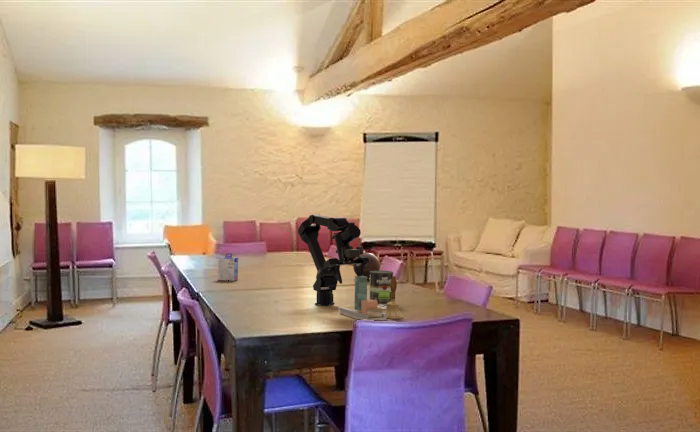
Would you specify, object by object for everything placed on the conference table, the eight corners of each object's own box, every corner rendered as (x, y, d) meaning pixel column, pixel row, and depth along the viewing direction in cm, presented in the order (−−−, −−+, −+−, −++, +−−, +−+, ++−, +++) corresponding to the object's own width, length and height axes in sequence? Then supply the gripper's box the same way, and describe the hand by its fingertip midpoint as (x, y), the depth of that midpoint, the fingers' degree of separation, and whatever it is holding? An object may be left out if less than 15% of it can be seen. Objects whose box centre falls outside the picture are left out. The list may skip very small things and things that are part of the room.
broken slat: (365, 309, 275) (365, 306, 275) (378, 308, 278) (378, 305, 278) (375, 312, 268) (375, 309, 268) (388, 311, 272) (388, 308, 272)
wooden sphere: (382, 281, 373) (382, 254, 372) (355, 281, 371) (355, 253, 370) (377, 277, 388) (377, 251, 387) (351, 277, 386) (351, 251, 385)
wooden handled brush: (401, 315, 269) (402, 275, 269) (404, 319, 261) (404, 277, 260) (381, 315, 269) (381, 274, 269) (382, 318, 261) (383, 277, 260)
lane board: (339, 313, 271) (339, 307, 271) (379, 309, 281) (379, 303, 281) (366, 322, 254) (366, 315, 254) (407, 317, 263) (407, 311, 263)
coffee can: (395, 305, 293) (396, 272, 292) (373, 306, 290) (373, 273, 289) (388, 301, 303) (388, 270, 302) (366, 302, 300) (366, 270, 299)
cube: (361, 311, 261) (361, 300, 261) (371, 310, 263) (371, 299, 263) (367, 313, 257) (367, 301, 257) (377, 312, 259) (377, 301, 259)
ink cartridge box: (238, 279, 370) (238, 253, 369) (234, 281, 364) (234, 254, 364) (221, 279, 372) (221, 252, 372) (217, 280, 367) (217, 253, 366)
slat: (351, 312, 266) (351, 276, 265) (365, 311, 269) (365, 275, 269) (367, 317, 255) (368, 280, 255) (382, 316, 258) (382, 279, 258)
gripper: (332, 240, 268) (340, 278, 263) (372, 238, 278) (380, 275, 273) (320, 249, 277) (327, 286, 272) (358, 247, 287) (366, 283, 282)
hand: (351, 282), depth 275 cm, fingers open, 9 cm apart
